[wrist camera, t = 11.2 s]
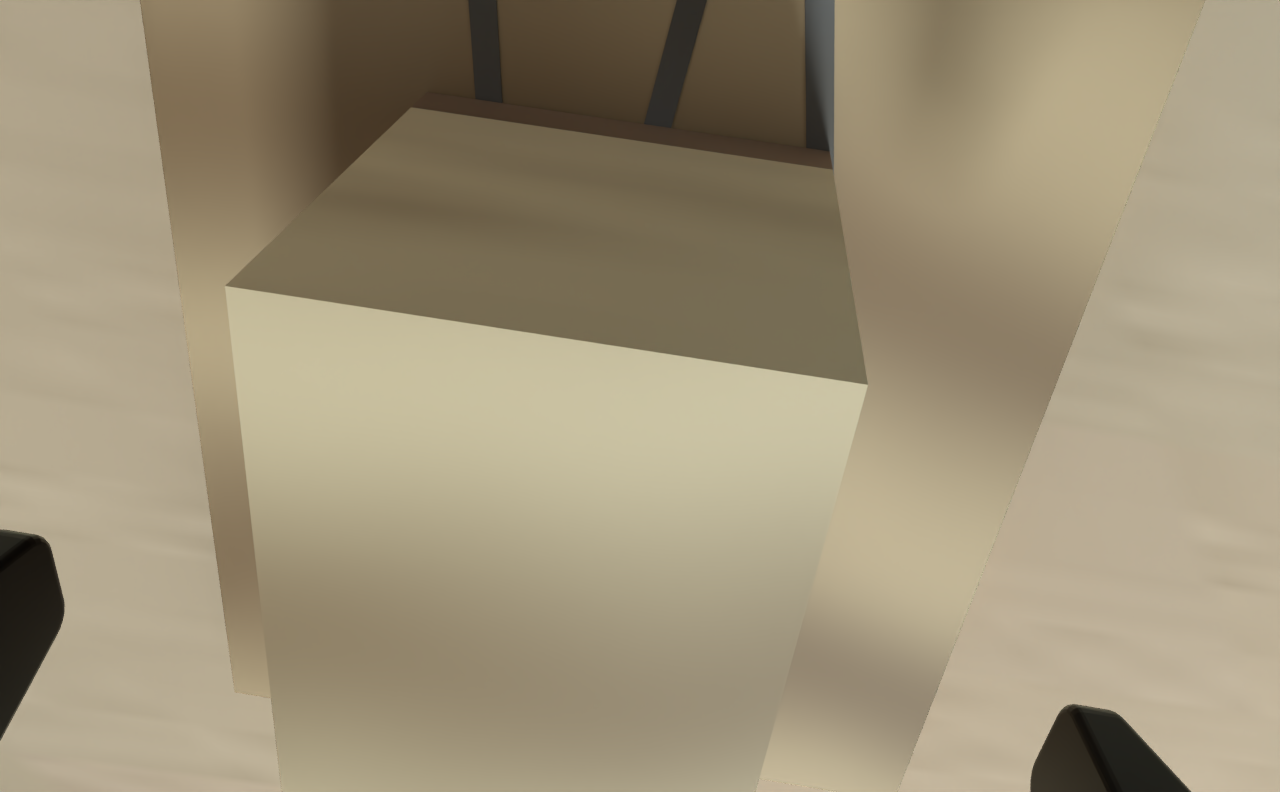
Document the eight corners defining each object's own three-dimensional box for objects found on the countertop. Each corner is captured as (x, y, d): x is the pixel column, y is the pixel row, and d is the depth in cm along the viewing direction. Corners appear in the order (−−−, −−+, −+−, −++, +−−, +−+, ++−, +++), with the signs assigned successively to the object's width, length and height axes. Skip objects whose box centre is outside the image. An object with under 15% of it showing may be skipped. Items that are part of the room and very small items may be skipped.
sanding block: (726, 614, 15) (711, 950, 11) (424, 566, 15) (291, 878, 11) (830, 151, 11) (868, 384, 7) (427, 92, 11) (224, 285, 7)
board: (886, 742, 18) (893, 801, 17) (264, 640, 18) (233, 693, 17) (1431, -750, 8) (1527, -825, 7) (94, -909, 9) (0, -1004, 7)
